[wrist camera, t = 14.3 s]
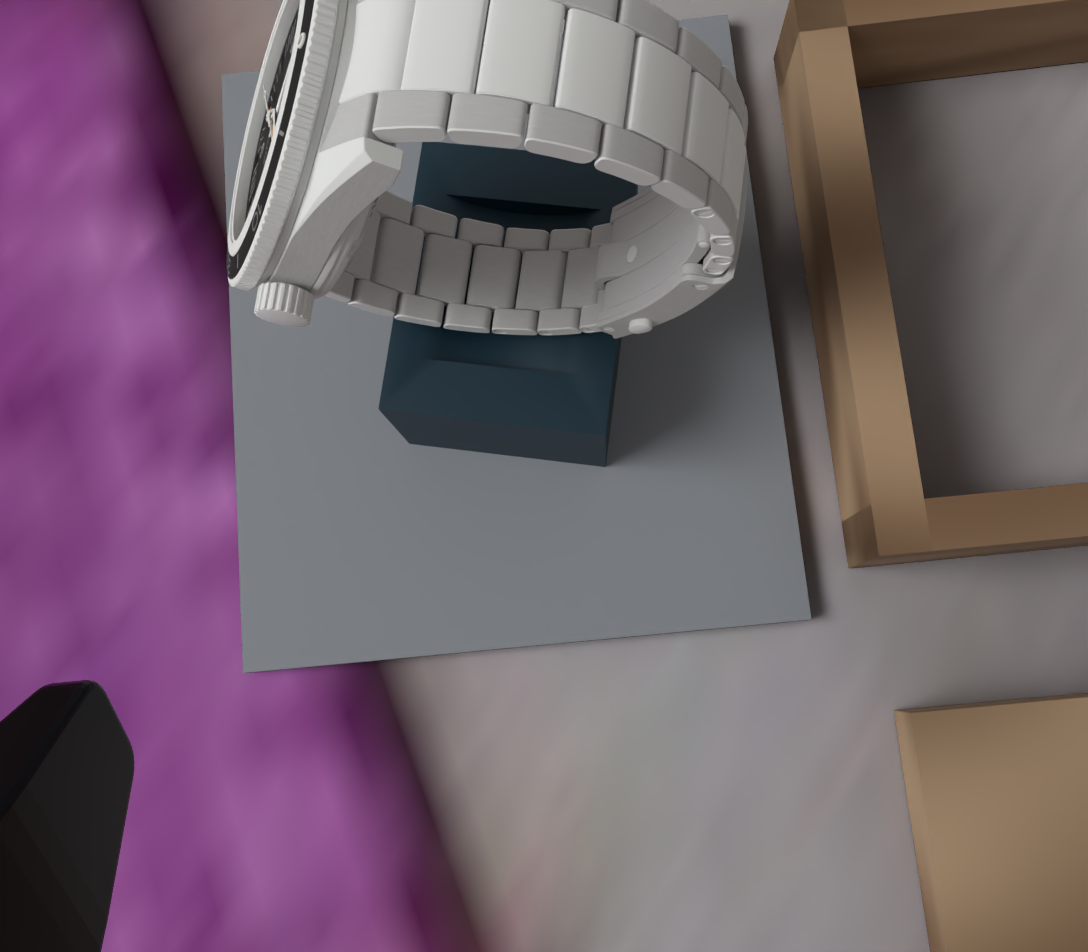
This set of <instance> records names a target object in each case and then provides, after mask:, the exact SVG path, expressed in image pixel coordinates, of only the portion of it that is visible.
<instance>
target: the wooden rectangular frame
mask: <svg viewBox="0 0 1088 952" xmlns="http://www.w3.org/2000/svg"><path fill="white" fill-rule="evenodd" d="M1087 61H1088V0H790V1H789V4H788V8H787V12H786V15H785V19H784V23H783V26H782V30H781V34H780V37H779V41H778V44H777V48H776V52H775V55H774V64H775V70H776V77H777V84H778V91H779V98H780V105H781V111H782V118H783V125H784V132H785V139H786V145H787V152H788V159H789V166H790V173H791V180H792V186H793V193H794V200H795V207H796V214H797V221H798V227H799V234H800V241H801V248H802V255H803V261H804V268H805V275H806V282H807V289H808V296H809V302H810V309H811V316H812V323H813V330H814V336H815V343H816V350H817V357H818V364H819V371H820V377H821V384H822V391H823V398H824V405H825V411H826V418H827V425H828V432H829V439H830V446H831V452H832V459H833V466H834V473H835V480H836V487H837V493H838V500H839V507H840V514H841V521H842V527H843V534H844V541H845V548H846V555H847V562H848V568H858V567H868V566H879V565H889V564H900V563H910V562H920V561H931V560H941V559H952V558H962V557H972V556H983V555H993V554H1004V553H1014V552H1024V551H1035V550H1045V549H1056V548H1066V547H1077V546H1087V545H1088V483H1079V484H1069V485H1059V486H1049V487H1039V488H1029V489H1019V490H1008V491H998V492H988V493H978V494H968V495H958V496H948V497H937V498H927V499H924V495H923V489H922V483H921V476H920V470H919V464H918V458H917V452H916V446H915V439H914V433H913V427H912V421H911V415H910V409H909V402H908V396H907V390H906V384H905V378H904V372H903V365H902V359H901V353H900V347H899V341H898V335H897V329H896V322H895V316H894V310H893V304H892V298H891V292H890V285H889V279H888V273H887V267H886V261H885V255H884V248H883V242H882V236H881V230H880V224H879V218H878V212H877V205H876V199H875V193H874V187H873V181H872V175H871V168H870V162H869V156H868V150H867V144H866V138H865V131H864V125H863V119H862V113H861V107H860V101H859V94H858V88H863V87H871V86H880V85H889V84H897V83H906V82H915V81H923V80H932V79H941V78H949V77H958V76H966V75H975V74H984V73H992V72H1001V71H1010V70H1018V69H1027V68H1036V67H1044V66H1053V65H1062V64H1070V63H1079V62H1087Z"/></svg>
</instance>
